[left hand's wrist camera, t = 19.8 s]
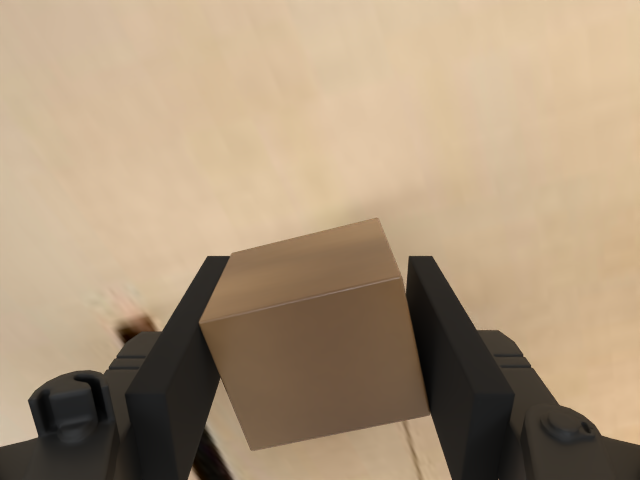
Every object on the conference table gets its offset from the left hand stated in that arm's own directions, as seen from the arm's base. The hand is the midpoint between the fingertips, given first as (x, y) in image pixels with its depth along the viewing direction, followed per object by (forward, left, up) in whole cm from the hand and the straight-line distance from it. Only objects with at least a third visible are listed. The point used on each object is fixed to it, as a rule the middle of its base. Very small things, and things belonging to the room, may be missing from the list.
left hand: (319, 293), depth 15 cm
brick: (0, 0, 0) cm, 0 cm away
